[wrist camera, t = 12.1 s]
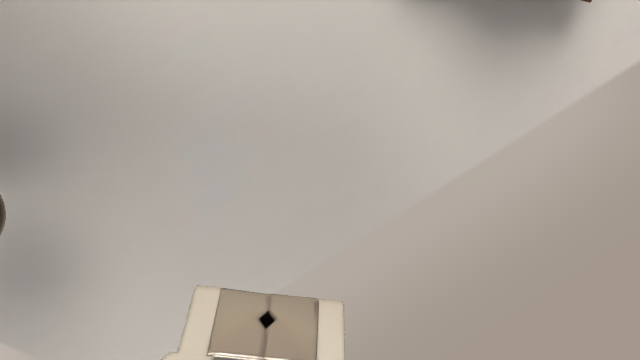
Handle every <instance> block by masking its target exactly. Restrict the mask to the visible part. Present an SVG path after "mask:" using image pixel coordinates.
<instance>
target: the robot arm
mask: <svg viewBox="0 0 640 360" xmlns="http://www.w3.org/2000/svg"><path fill="white" fill-rule="evenodd" d="M161 360H345V339H344V304H343V302H342V301H334V300H325V299H317V298H309V297H299V296H288V295H278V294H263V293H256V292H248V291H241V290H233V289H226V288H216V287H208V286H201V285H197V286H196V288H195V290H194V292H193V296H192V300H191V304H190V307H189V311H188V315H187V318H186V322H185V326H184V329H183V333H182V337H181V341H180V344H179V348H178V352H177V353H176V352H169V353H168V354H167V355H166V356H165V357H164V358H163V359H161Z"/></svg>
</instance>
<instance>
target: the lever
mask: <svg viewBox="0 0 640 360" xmlns="http://www.w3.org/2000/svg"><path fill="white" fill-rule="evenodd" d="M5 219H6V211H5V205H4V202H3V199H2V197H1V195H0V235H1V233H2V230H3V228H4V224H5Z"/></svg>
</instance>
